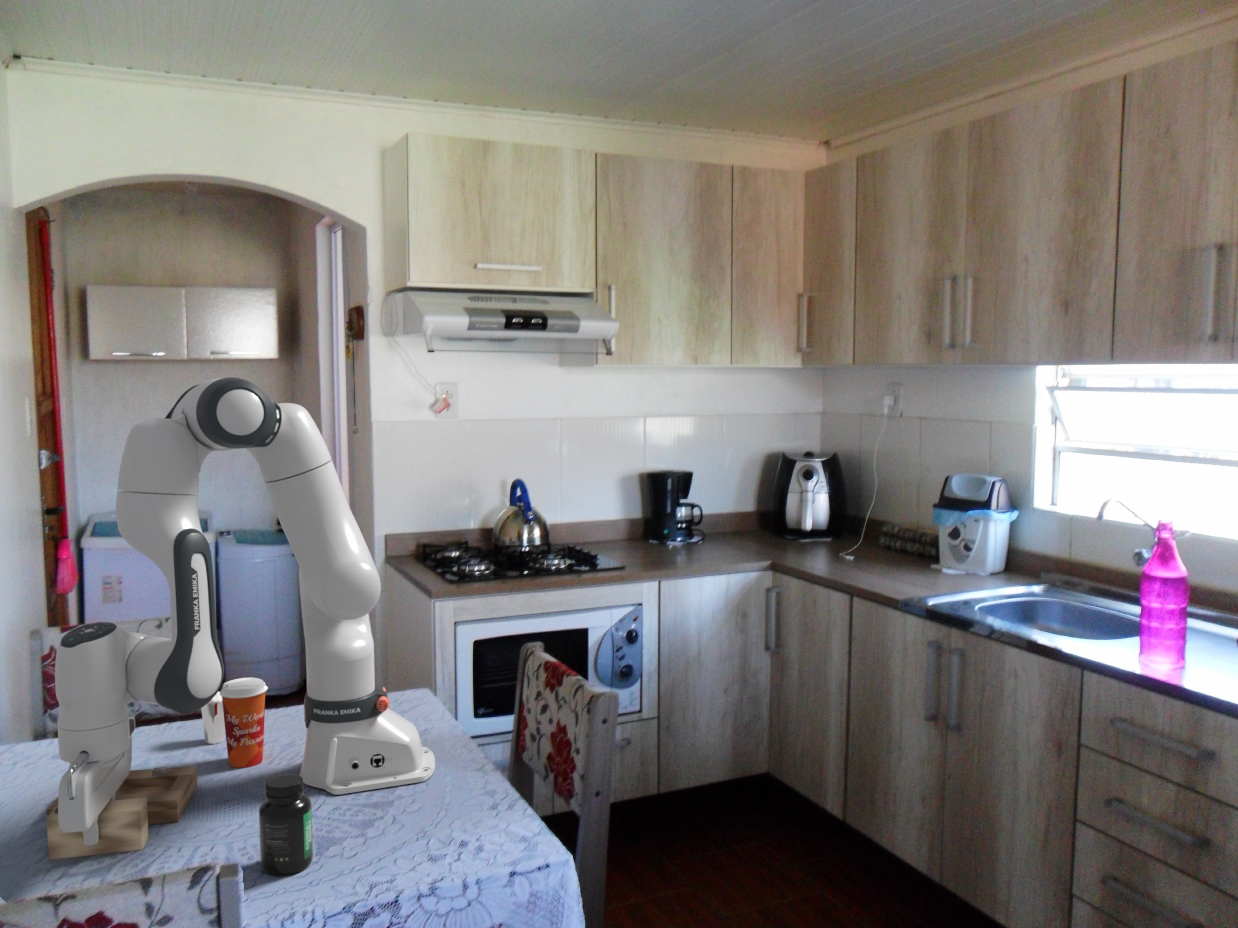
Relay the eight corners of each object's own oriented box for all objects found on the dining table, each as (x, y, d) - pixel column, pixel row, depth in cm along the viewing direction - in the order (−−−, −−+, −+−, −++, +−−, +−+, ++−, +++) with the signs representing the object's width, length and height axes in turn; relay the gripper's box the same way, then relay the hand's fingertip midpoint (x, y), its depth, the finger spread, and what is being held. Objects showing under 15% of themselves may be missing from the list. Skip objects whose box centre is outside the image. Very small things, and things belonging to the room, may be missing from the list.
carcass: (197, 786, 161) (196, 759, 161) (178, 821, 149) (176, 793, 148) (78, 795, 158) (77, 767, 158) (48, 832, 145) (46, 802, 145)
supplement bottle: (322, 863, 136) (320, 779, 135) (276, 882, 131) (273, 795, 130) (296, 847, 141) (294, 766, 140) (251, 865, 136) (248, 781, 135)
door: (148, 836, 144) (146, 794, 143) (142, 849, 140) (140, 806, 140) (57, 845, 141) (55, 802, 141) (48, 859, 137) (46, 815, 137)
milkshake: (226, 745, 179) (224, 692, 178) (197, 745, 179) (195, 691, 178) (236, 736, 183) (234, 684, 183) (207, 736, 184) (206, 683, 183)
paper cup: (224, 773, 167) (221, 692, 165) (220, 757, 173) (217, 680, 172) (273, 764, 170) (270, 686, 169) (266, 749, 177) (264, 673, 176)
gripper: (94, 766, 130) (99, 867, 131) (138, 713, 150) (142, 801, 151) (41, 770, 128) (47, 871, 130) (93, 716, 148) (97, 804, 150)
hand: (98, 833), depth 140 cm, fingers closed on door, 4 cm apart
